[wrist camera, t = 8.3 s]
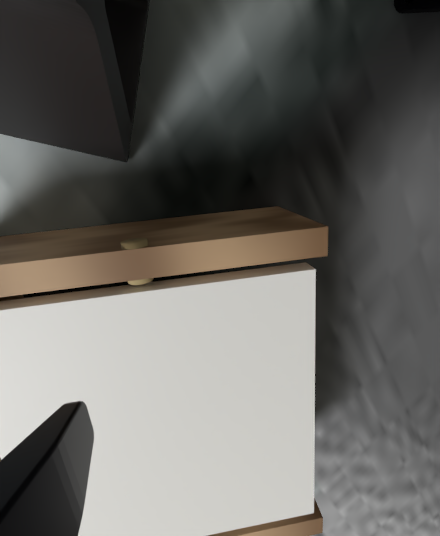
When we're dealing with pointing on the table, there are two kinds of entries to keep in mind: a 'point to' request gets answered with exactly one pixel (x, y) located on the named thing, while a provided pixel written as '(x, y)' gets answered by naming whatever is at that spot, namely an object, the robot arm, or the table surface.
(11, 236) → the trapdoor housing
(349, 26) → the table surface
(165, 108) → the table surface
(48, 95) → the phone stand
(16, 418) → the trapdoor
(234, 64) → the table surface
